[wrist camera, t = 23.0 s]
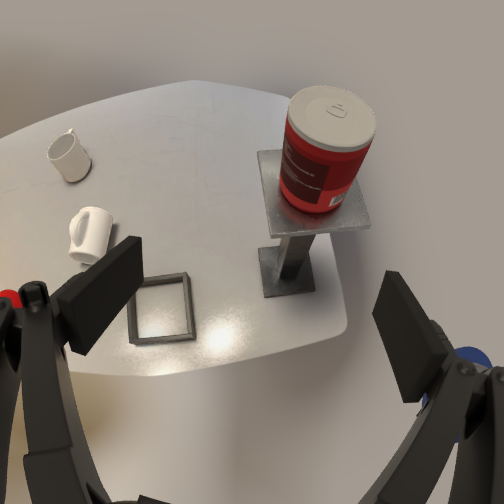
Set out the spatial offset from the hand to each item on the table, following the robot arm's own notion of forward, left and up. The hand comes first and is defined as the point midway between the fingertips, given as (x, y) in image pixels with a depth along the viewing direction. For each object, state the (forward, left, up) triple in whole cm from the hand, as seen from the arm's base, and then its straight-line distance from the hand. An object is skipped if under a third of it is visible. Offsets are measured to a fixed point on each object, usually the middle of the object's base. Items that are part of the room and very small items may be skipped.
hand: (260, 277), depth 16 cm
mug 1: (+65, +7, -43) cm, 78 cm away
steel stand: (+7, -14, -43) cm, 45 cm away
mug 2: (+39, +13, -43) cm, 59 cm away
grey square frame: (+17, +10, -43) cm, 47 cm away
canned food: (+7, -14, -13) cm, 20 cm away
